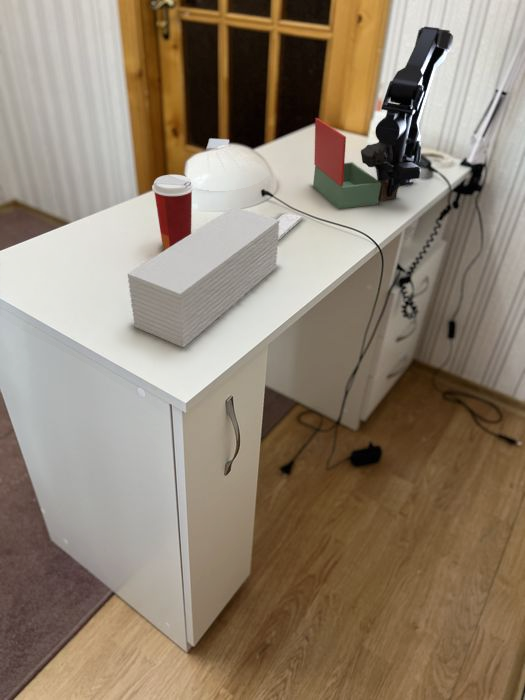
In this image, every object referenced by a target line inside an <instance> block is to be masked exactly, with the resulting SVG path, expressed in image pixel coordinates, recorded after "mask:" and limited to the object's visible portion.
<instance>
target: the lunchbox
mask: <svg viewBox="0 0 525 700" xmlns="http://www.w3.org/2000/svg"><path fill="white" fill-rule="evenodd" d="M313 173H314V174H313V184H312V187H313V188H314V189H316V190H317V192H319V193H320V194H321V195H322V196H324V197H325V198H326V199H327V200H328V201H329V202H330V203H332V205H334V206H335V208H337V209H338V210H343V209H350V208H357V207H365V206H366V207H367V206H373V205H378V203H379V199H378V198H379V193H380V187H381V182H379V181H378V180H377V179H376V178H375V177H374V176H373V175H371V174H370V173H368V172H367V171H365V170H364V169H362V168H361V167H360V166H358V165H357V164H356V163H354V162H353V161H350V162H344V179H343V186H340V185H339V184H338V183H336V182H335V181H334V180H333V179H332V178H330V177H329V176H328V175H327V174H325V173H324V172H323V171H322V170H320V169H319V168H318V167H317V166H315V165H314V172H313Z"/></svg>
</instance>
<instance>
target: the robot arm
mask: <svg viewBox="0 0 525 700" xmlns="http://www.w3.org/2000/svg"><path fill="white" fill-rule="evenodd" d="M453 41H454V35H453V34H452V33H451V30H449V29H442V28H440V27H433V26H423V27H421V28H420V29H418V32H417V35H416V40H415V43H414V47H413V49H412V51H411V53H410V56H409V58H408V60H407V62H406V64H405V66H404V67H403V68H401V69H399V70H398V71H396V73H395V75H394V77H393V78H392V80H390V81H389V82H388V86H387V90H386V92H385V95H384V99H383V101H382V105H381V107H380V108H381V111H382V110H383V111H386V113H385V114H386V115H385V117H383V118H382V119H381V120H380V121H379V122H378V123H377V125H376V127H375V133H374V134H375V137H376V140H378V142H376V143H372V144H367V145H366V146H365V147H364V148H362V149H360V155H361V163H362V164H364V165H366V166H367V167H368V168H374V169H375V172H376V178H377V179H376V180H385V179H389V181H388V190H387V196H388V197H390V196H392V195H393V193H394V192H395V191H396V189H397V188H398V189H399V187H400V186H402V185H411V184H414V180H416V179H420V177H421V173H422V169H421V167H420V166H419V165H417V164H419V163H420V162H421V158H422V141H421V132H420V128H419V124H420V121H421V117H422V114H423V111H424V107H425V104H426V101H427V97H428V94H429V92H430V88H431V86H432V82H433V79H434V76H435V72H436V70H437V68H438V67H439V66H440V65H441V64H442V63H443V62H445V59H446V57H447V54H448V52H450V51H451V48H452V45H453ZM389 101H390V102H389Z"/></svg>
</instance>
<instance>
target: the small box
mask: <svg viewBox="0 0 525 700" xmlns="http://www.w3.org/2000/svg"><path fill="white" fill-rule="evenodd" d="M230 141H231V140H230V139H226V138H209V139H208V143H207V146H206V148H205V151H208V150H210V149H214V148H215V147H217V148H218V146H221V145H227V144H231V143H230Z"/></svg>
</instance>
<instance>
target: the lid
mask: <svg viewBox="0 0 525 700" xmlns="http://www.w3.org/2000/svg"><path fill="white" fill-rule="evenodd" d="M314 119H315V120H314V163H313V164H314V167H315V166H317V167H318V168H319V169H320V170H322V171H323V172H324V173H325V174H327V175H328V176H329V177H330V178H332V179H333V180H334V181H335V182H336V183H338V184H339V185H340V186H343V179H344V163H346V162H345V160H346V142H347V136H346V135H344V134H342V133H341V132H340V131H338V130H336V129H335V128H333V127H332V126H331V125H329V124H328V123H326V122H324V121H323V120H321V119H320V118H318V117H315V118H314Z"/></svg>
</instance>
